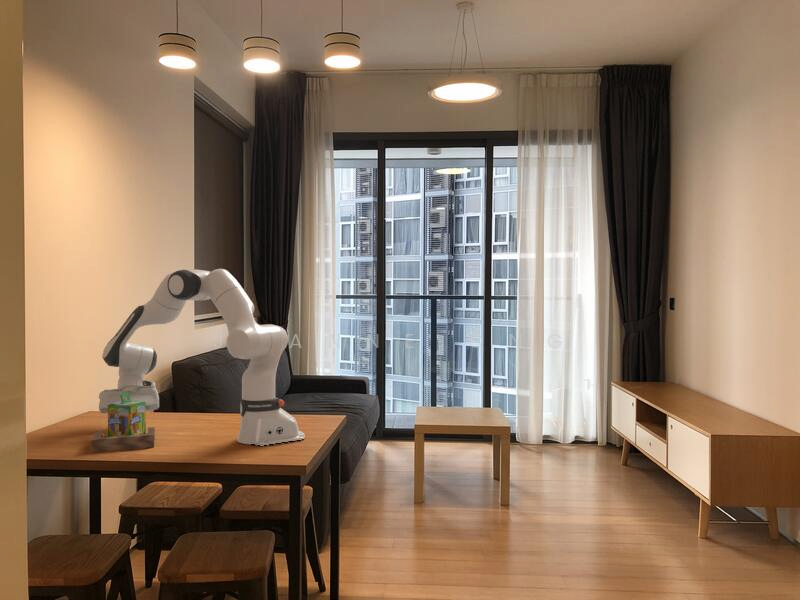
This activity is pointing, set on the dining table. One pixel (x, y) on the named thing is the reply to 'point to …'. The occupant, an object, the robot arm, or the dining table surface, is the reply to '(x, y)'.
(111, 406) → the chalk box
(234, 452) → the dining table surface
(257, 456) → the dining table surface
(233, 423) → the dining table surface
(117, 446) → the grey-brown shallow rectangular tray
